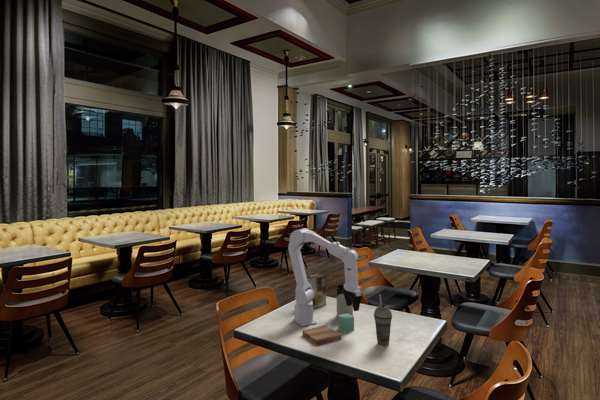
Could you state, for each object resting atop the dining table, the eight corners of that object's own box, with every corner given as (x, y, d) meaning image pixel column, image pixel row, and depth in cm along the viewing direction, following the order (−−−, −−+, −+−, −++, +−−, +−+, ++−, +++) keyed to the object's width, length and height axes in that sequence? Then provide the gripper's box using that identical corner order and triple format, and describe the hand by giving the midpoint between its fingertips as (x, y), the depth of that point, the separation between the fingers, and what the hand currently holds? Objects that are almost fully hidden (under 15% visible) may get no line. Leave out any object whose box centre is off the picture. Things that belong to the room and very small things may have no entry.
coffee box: (319, 302, 200) (319, 273, 200) (326, 305, 195) (326, 275, 194) (305, 305, 195) (305, 275, 195) (312, 308, 190) (312, 278, 190)
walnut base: (302, 335, 156) (302, 330, 156) (326, 329, 162) (326, 325, 162) (316, 345, 146) (316, 340, 145) (341, 339, 151) (341, 334, 151)
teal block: (338, 328, 163) (338, 315, 163) (347, 326, 165) (347, 313, 165) (344, 332, 159) (344, 318, 158) (354, 330, 161) (353, 316, 161)
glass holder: (334, 319, 174) (334, 288, 173) (338, 309, 188) (337, 281, 187) (353, 320, 172) (352, 289, 172) (355, 310, 186) (354, 281, 185)
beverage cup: (389, 349, 141) (388, 298, 140) (371, 345, 145) (370, 295, 144) (394, 342, 147) (394, 293, 147) (377, 338, 151) (377, 291, 150)
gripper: (366, 280, 154) (368, 311, 155) (352, 273, 168) (354, 302, 169) (351, 282, 153) (352, 314, 153) (338, 275, 167) (340, 304, 167)
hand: (352, 308), depth 161 cm, fingers open, 7 cm apart
